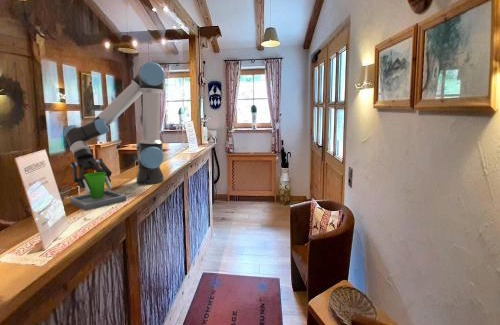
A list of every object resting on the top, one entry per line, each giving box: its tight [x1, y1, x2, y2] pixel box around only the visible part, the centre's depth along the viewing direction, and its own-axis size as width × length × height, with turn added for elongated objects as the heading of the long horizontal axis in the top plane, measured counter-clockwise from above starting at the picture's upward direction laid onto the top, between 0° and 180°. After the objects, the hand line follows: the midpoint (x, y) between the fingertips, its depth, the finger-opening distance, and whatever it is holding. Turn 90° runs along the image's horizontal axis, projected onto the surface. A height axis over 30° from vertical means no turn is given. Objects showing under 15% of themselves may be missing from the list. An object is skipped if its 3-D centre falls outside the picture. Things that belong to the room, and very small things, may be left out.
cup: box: [83, 171, 106, 199], centre depth 146 cm, size 9×9×11 cm
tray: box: [69, 189, 127, 212], centre depth 147 cm, size 18×18×2 cm
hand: (99, 190), depth 145 cm, fingers closed on cup, 9 cm apart
